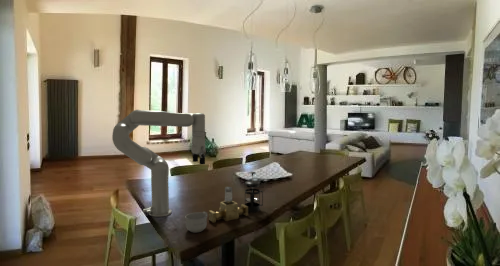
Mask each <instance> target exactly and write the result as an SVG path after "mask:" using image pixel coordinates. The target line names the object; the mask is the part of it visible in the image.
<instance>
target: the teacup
mask: <svg viewBox="0 0 500 266" xmlns="http://www.w3.org/2000/svg"><path fill="white" fill-rule="evenodd" d="M208 217H209V213H208V212H207V211H200V212H199V211H196V212H190V213H187V214H186V215H185V216H184V219H185V227H186V229H187V231H189V232H191V233H196V234H197V233H200V232H203V231H204V230H205V229H206V228H207V224H208Z"/></svg>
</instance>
